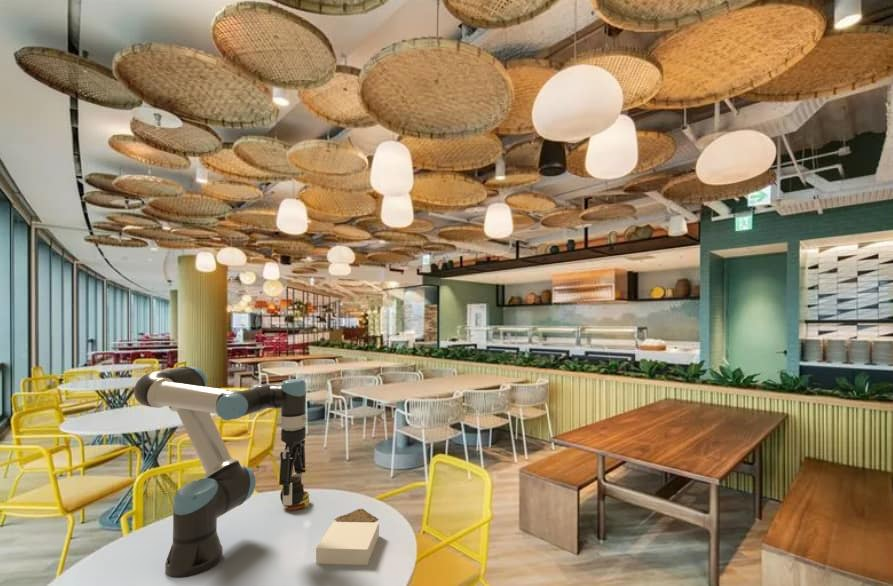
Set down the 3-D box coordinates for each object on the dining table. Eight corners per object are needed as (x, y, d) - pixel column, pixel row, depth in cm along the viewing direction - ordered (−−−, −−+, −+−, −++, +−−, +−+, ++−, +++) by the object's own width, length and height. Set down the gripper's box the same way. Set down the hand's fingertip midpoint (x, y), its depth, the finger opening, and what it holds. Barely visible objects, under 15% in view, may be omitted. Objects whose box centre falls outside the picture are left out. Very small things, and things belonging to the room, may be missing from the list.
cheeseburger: (302, 512, 158) (296, 487, 159) (278, 517, 160) (272, 491, 161) (315, 500, 168) (310, 476, 169) (292, 505, 170) (287, 480, 171)
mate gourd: (298, 496, 138) (299, 466, 139) (308, 504, 133) (308, 473, 133) (277, 503, 134) (277, 472, 134) (286, 511, 128) (286, 479, 128)
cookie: (333, 520, 153) (333, 517, 153) (362, 509, 161) (362, 507, 161) (349, 533, 144) (349, 530, 144) (379, 520, 152) (379, 518, 152)
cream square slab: (316, 565, 126) (316, 548, 126) (333, 536, 142) (333, 521, 142) (367, 566, 125) (367, 549, 125) (379, 537, 141) (378, 522, 141)
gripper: (291, 436, 124) (290, 514, 123) (316, 419, 144) (315, 485, 143) (267, 436, 125) (266, 513, 123) (295, 419, 145) (294, 485, 144)
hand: (292, 498), depth 133 cm, fingers closed on mate gourd, 7 cm apart
